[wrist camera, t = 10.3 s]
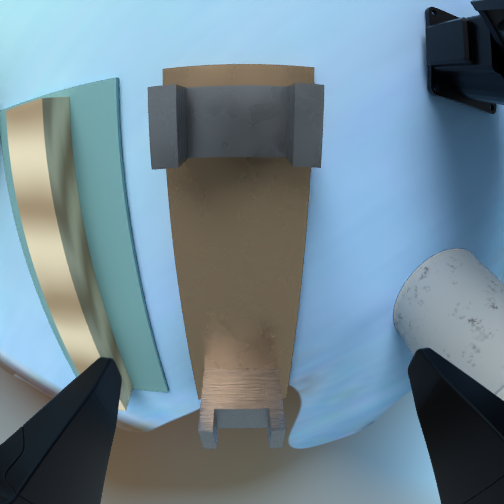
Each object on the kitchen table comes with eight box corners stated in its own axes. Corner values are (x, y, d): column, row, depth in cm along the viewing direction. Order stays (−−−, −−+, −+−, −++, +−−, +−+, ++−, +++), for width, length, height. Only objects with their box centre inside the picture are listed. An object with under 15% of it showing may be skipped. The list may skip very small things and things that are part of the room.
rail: (34, 106, 14) (5, 110, 11) (69, 96, 14) (42, 98, 11) (105, 382, 25) (97, 406, 23) (132, 386, 25) (125, 411, 23)
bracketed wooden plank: (167, 70, 14) (121, 52, 8) (310, 69, 15) (351, 49, 8) (199, 391, 26) (193, 455, 20) (285, 390, 26) (293, 454, 20)
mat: (118, 78, 14) (116, 77, 14) (168, 389, 26) (168, 392, 26) (2, 110, 14) (-1, 111, 14) (79, 378, 26) (78, 381, 25)
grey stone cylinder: (481, 306, 23) (547, 393, 12) (403, 354, 25) (452, 461, 14) (476, 228, 19) (579, 318, 8) (381, 284, 21) (458, 418, 10)
